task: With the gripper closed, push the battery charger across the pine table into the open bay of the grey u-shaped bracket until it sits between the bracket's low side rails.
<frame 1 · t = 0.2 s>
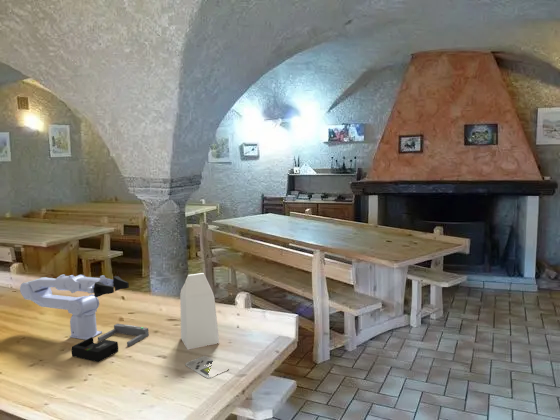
hand: (120, 287, 175), 22 cm above the table, tool horizontal, fingers open, 7 cm apart
battery charger: (95, 355, 169), on the table
grey u-shaped bracket: (122, 338, 181), on the table
milk: (199, 341, 177), on the table
handheld gaming device: (206, 368, 155), on the table
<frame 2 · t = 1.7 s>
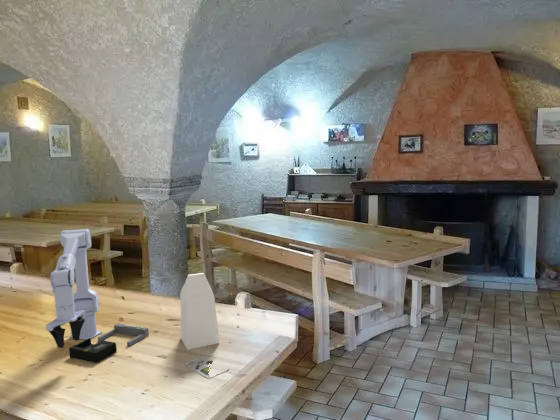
hand: (68, 343, 157), 8 cm above the table, tool pointing down, fingers open, 6 cm apart
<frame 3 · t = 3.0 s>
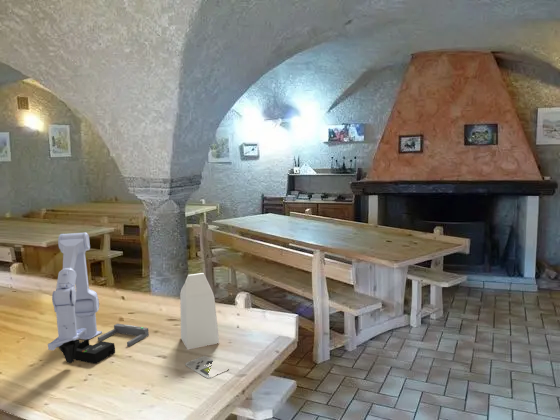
hand: (70, 362, 158), 2 cm above the table, tool pointing down, fingers closed
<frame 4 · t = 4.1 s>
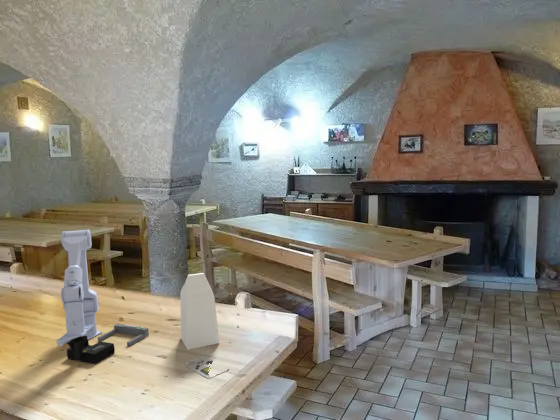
hand: (78, 357, 161), 2 cm above the table, tool pointing down, fingers closed
battery charger: (91, 357, 167), on the table, touching gripper
everything else where it was.
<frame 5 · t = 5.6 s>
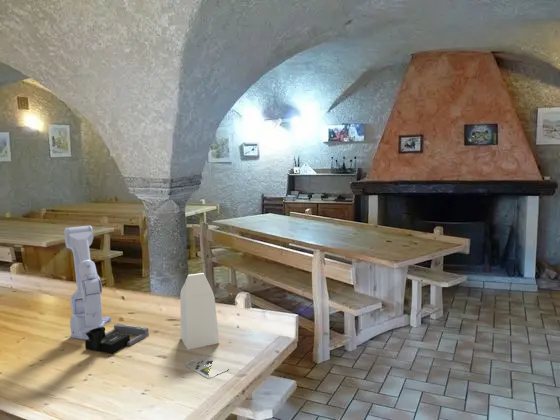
hand: (96, 347, 169), 2 cm above the table, tool pointing down, fingers closed
battery charger: (108, 348, 175), on the table, touching gripper
everything else where it was.
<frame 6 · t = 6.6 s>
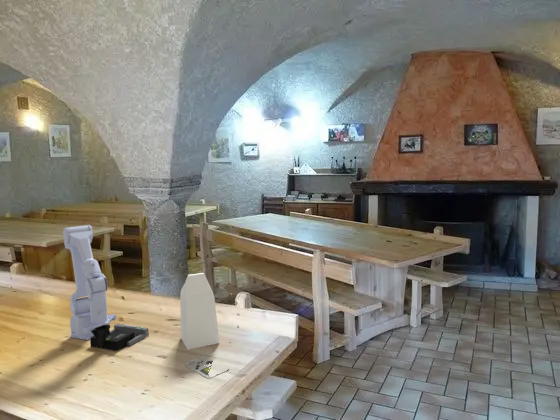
hand: (101, 345, 171), 2 cm above the table, tool pointing down, fingers closed
battery charger: (113, 345, 177), on the table
everything else where it was.
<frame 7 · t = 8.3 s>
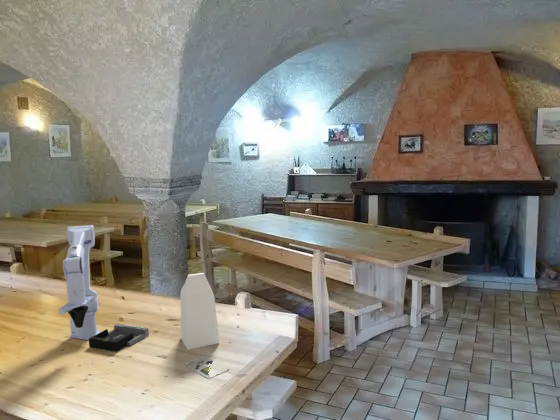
hand: (79, 326, 168), 10 cm above the table, tool pointing down, fingers closed
nothing on the table moved.
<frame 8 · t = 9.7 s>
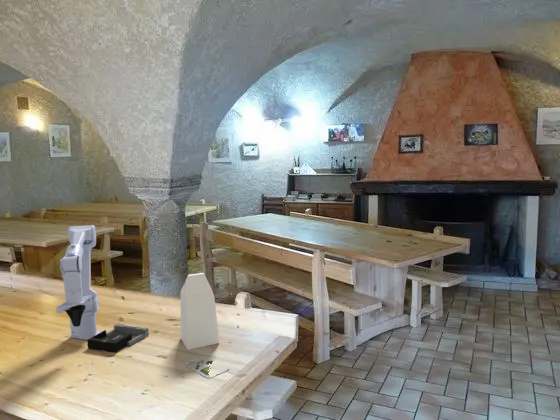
hand: (76, 325, 168), 10 cm above the table, tool pointing down, fingers closed
at the end: battery charger 2.8 cm from the target spot on the grey u-shaped bracket, point -0.6 cm above the grey u-shaped bracket's base; battery charger tilted 0°; the gripper is holding nothing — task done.
